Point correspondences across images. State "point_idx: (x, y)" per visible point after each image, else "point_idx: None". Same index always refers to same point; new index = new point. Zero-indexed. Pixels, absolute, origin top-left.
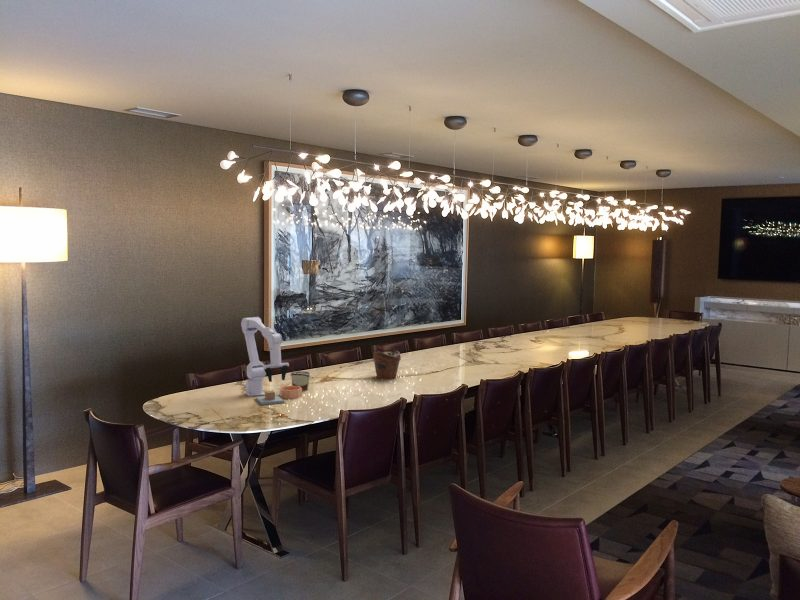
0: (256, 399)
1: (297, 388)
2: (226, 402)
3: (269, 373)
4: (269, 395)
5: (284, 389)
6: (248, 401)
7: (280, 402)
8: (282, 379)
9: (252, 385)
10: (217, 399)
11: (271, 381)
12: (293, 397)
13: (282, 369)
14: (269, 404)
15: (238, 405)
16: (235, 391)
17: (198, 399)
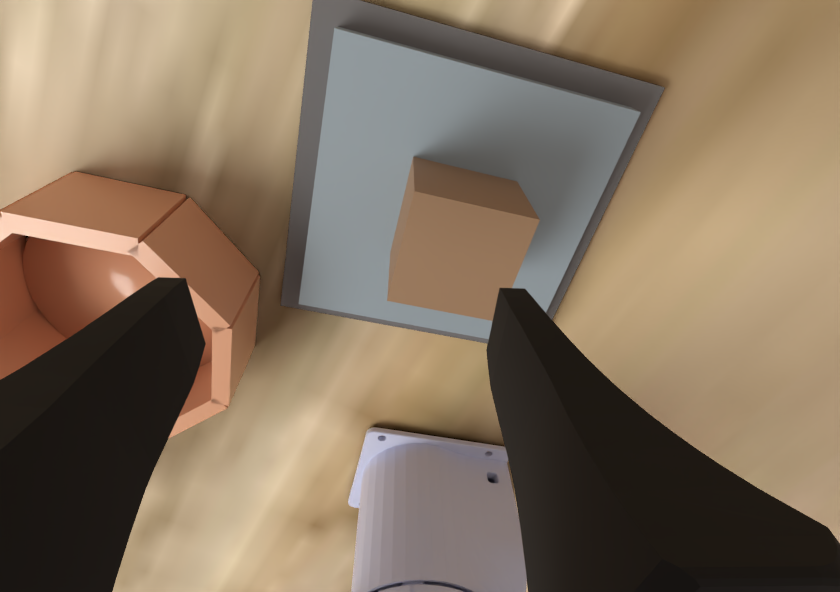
0: None
1: (4, 355)
2: (776, 377)
3: (671, 442)
4: (492, 193)
5: None
6: (619, 316)
7: (382, 37)
8: (196, 331)
9: (481, 534)
10: (742, 472)
11: (508, 290)
12: (129, 187)
13: (40, 588)
14: (544, 53)
15: (805, 234)
16: None
17: (821, 517)
